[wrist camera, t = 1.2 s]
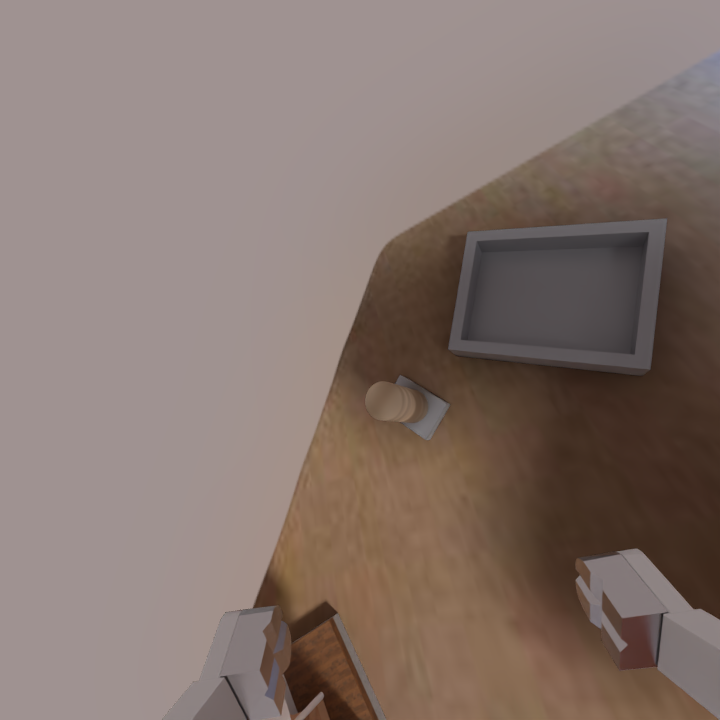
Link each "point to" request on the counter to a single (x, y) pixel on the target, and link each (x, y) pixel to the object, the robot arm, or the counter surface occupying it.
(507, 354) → the tray
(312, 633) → the white miniature tower model
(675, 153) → the counter surface
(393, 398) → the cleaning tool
